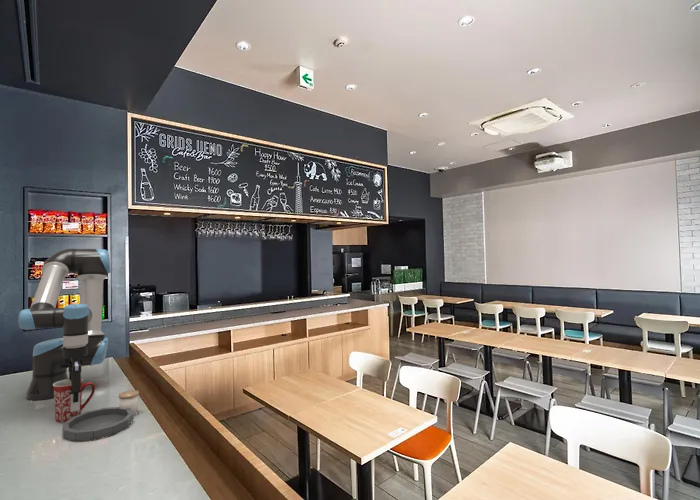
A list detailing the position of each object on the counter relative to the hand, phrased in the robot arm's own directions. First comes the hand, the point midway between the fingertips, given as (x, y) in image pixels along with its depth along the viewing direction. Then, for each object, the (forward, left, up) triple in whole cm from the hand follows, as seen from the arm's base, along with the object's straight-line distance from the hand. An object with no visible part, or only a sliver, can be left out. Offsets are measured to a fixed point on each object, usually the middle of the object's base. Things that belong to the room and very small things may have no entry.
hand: (74, 406), depth 136 cm
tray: (+16, +6, -4) cm, 18 cm away
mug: (0, 0, -4) cm, 4 cm away
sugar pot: (+10, +16, -4) cm, 19 cm away
